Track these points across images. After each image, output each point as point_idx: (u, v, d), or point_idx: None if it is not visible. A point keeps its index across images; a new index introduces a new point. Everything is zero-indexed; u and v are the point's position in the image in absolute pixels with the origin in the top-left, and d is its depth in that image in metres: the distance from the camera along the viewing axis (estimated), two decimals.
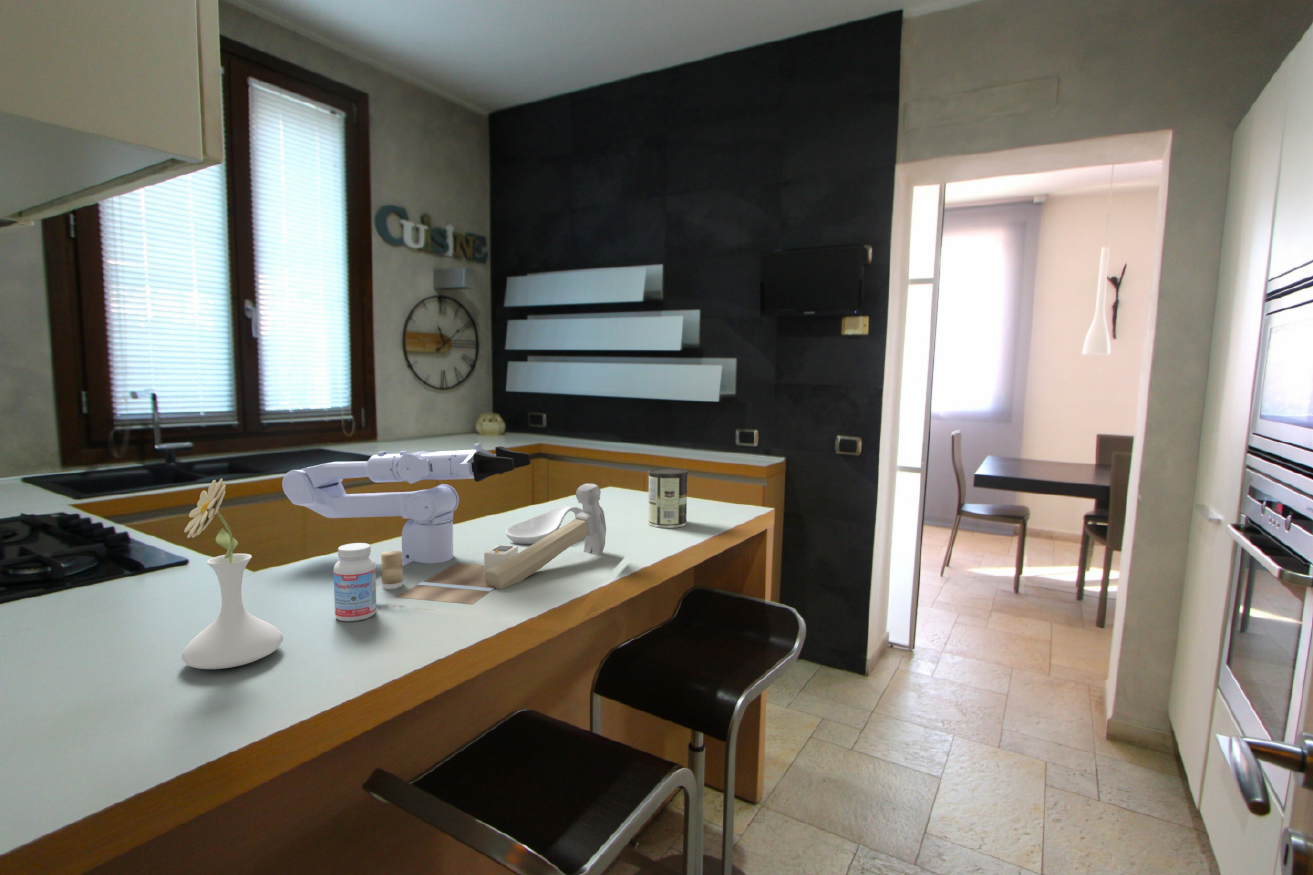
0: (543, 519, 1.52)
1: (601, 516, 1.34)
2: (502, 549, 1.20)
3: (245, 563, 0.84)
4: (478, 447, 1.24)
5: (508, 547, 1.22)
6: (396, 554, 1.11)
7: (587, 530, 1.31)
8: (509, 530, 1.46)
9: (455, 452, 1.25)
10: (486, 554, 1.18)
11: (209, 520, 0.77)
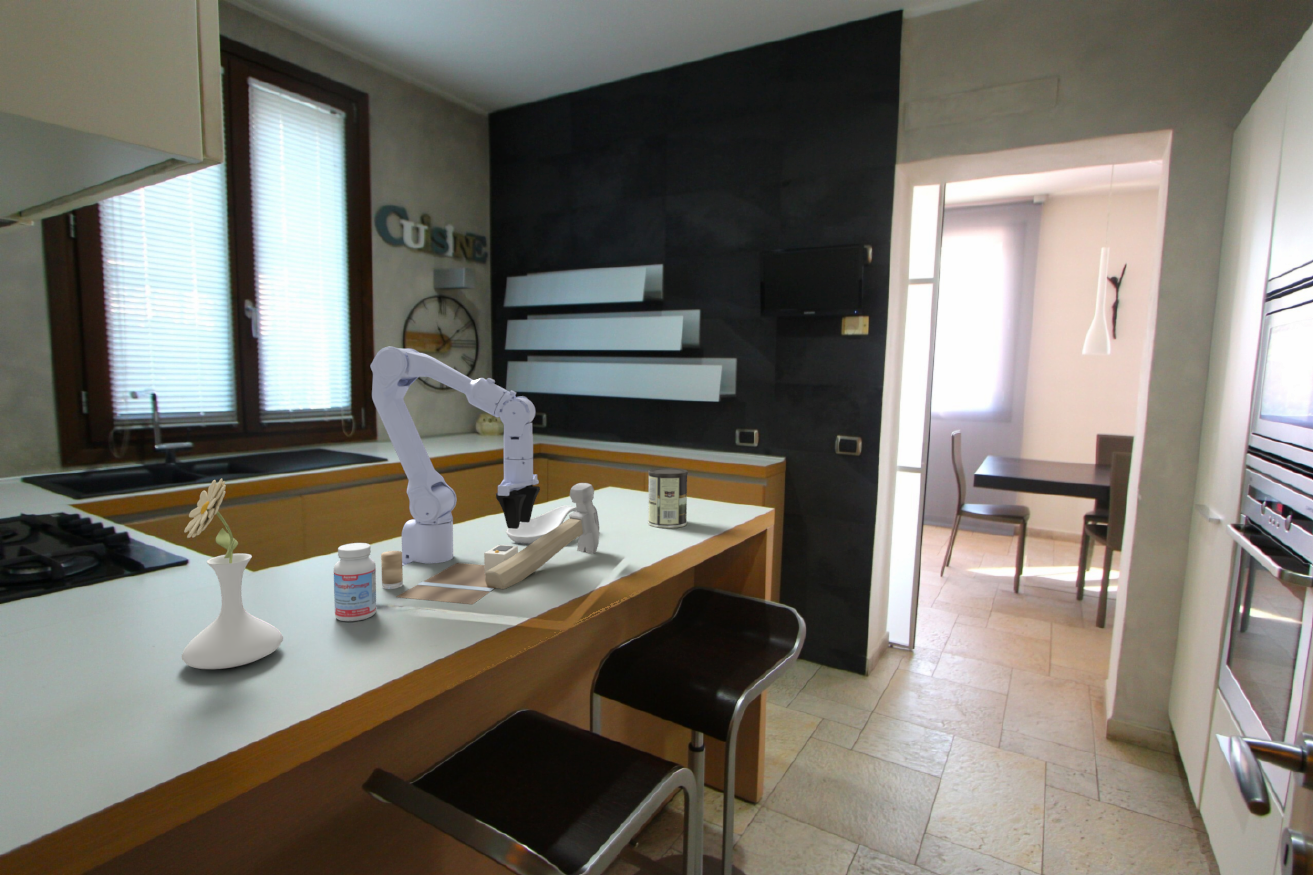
0: (545, 519, 1.52)
1: (595, 515, 1.35)
2: (502, 549, 1.20)
3: (245, 563, 0.84)
4: (532, 484, 1.26)
5: (508, 547, 1.22)
6: (396, 554, 1.11)
7: (582, 529, 1.32)
8: (510, 529, 1.46)
9: (528, 461, 1.25)
10: (486, 554, 1.18)
11: (209, 520, 0.77)
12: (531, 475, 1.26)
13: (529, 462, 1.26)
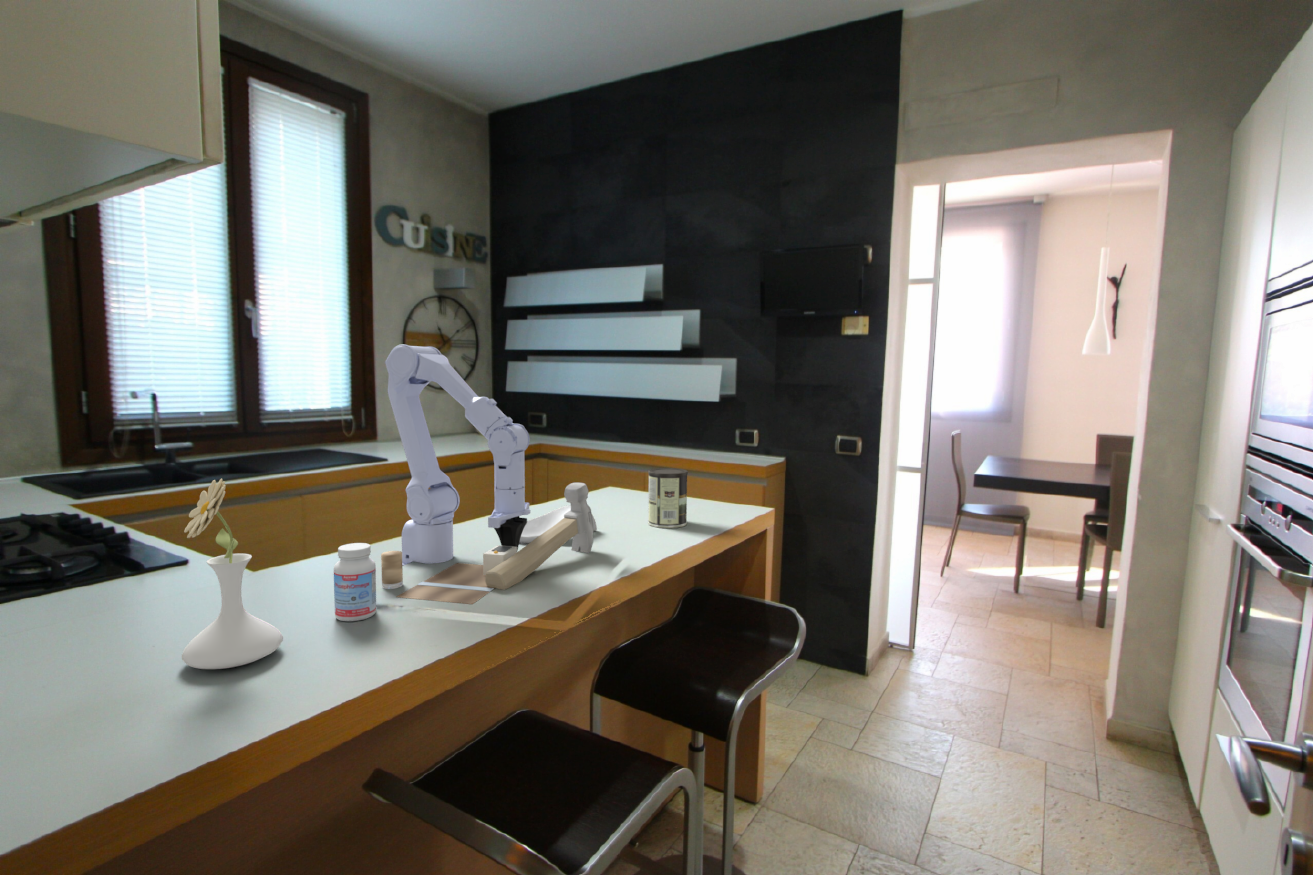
0: (548, 519, 1.52)
1: (589, 514, 1.35)
2: (501, 550, 1.20)
3: (245, 563, 0.84)
4: (523, 514, 1.22)
5: (507, 548, 1.21)
6: (396, 555, 1.11)
7: (577, 528, 1.32)
8: None
9: (519, 490, 1.22)
10: (485, 555, 1.18)
11: (209, 520, 0.77)
12: (523, 505, 1.23)
13: (521, 492, 1.22)
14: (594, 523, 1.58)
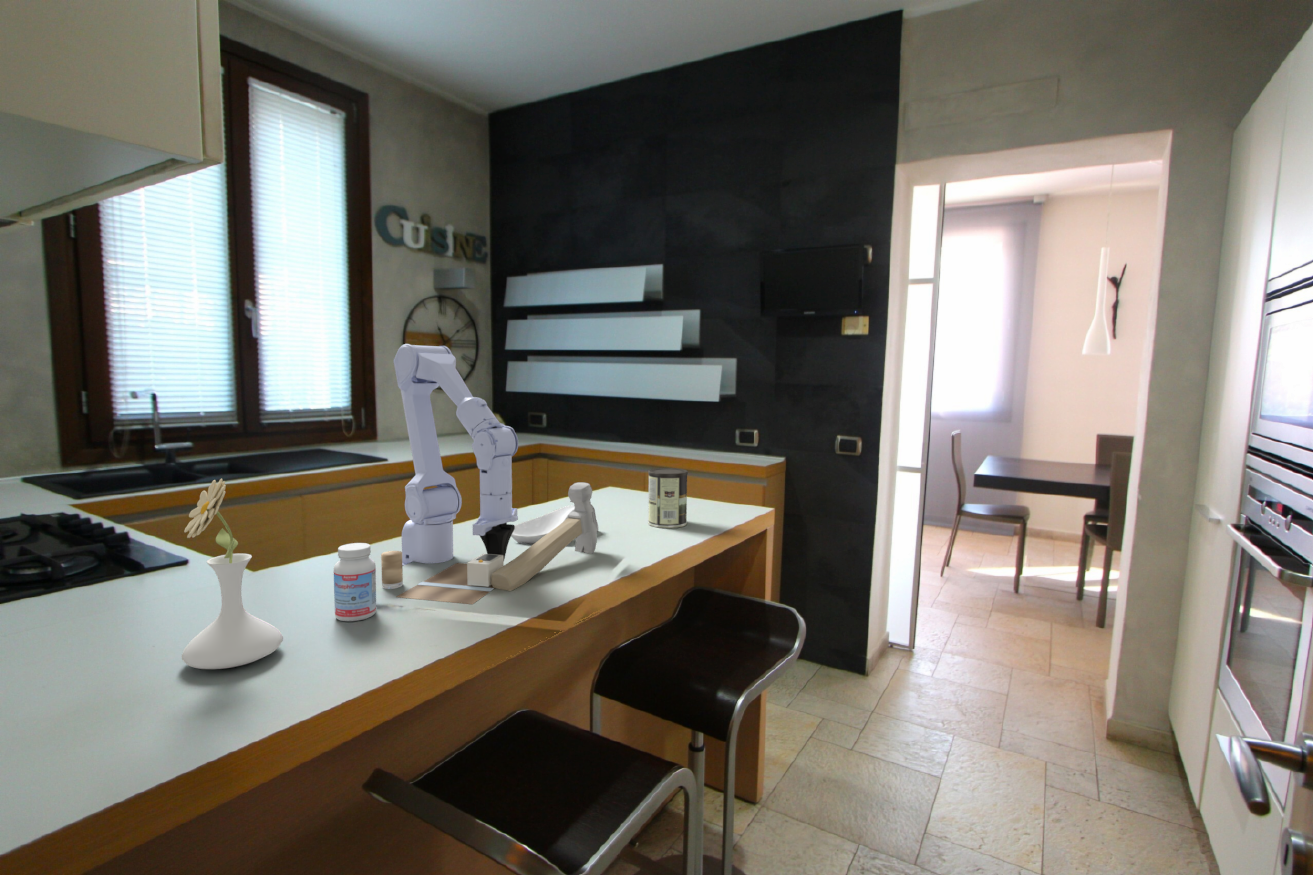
0: (549, 519, 1.52)
1: (593, 514, 1.35)
2: (486, 558, 1.14)
3: (245, 563, 0.84)
4: (510, 521, 1.17)
5: (493, 556, 1.15)
6: (396, 554, 1.11)
7: (581, 528, 1.31)
8: None
9: (506, 496, 1.16)
10: (469, 564, 1.12)
11: (209, 520, 0.77)
12: (510, 511, 1.17)
13: (507, 497, 1.16)
14: None
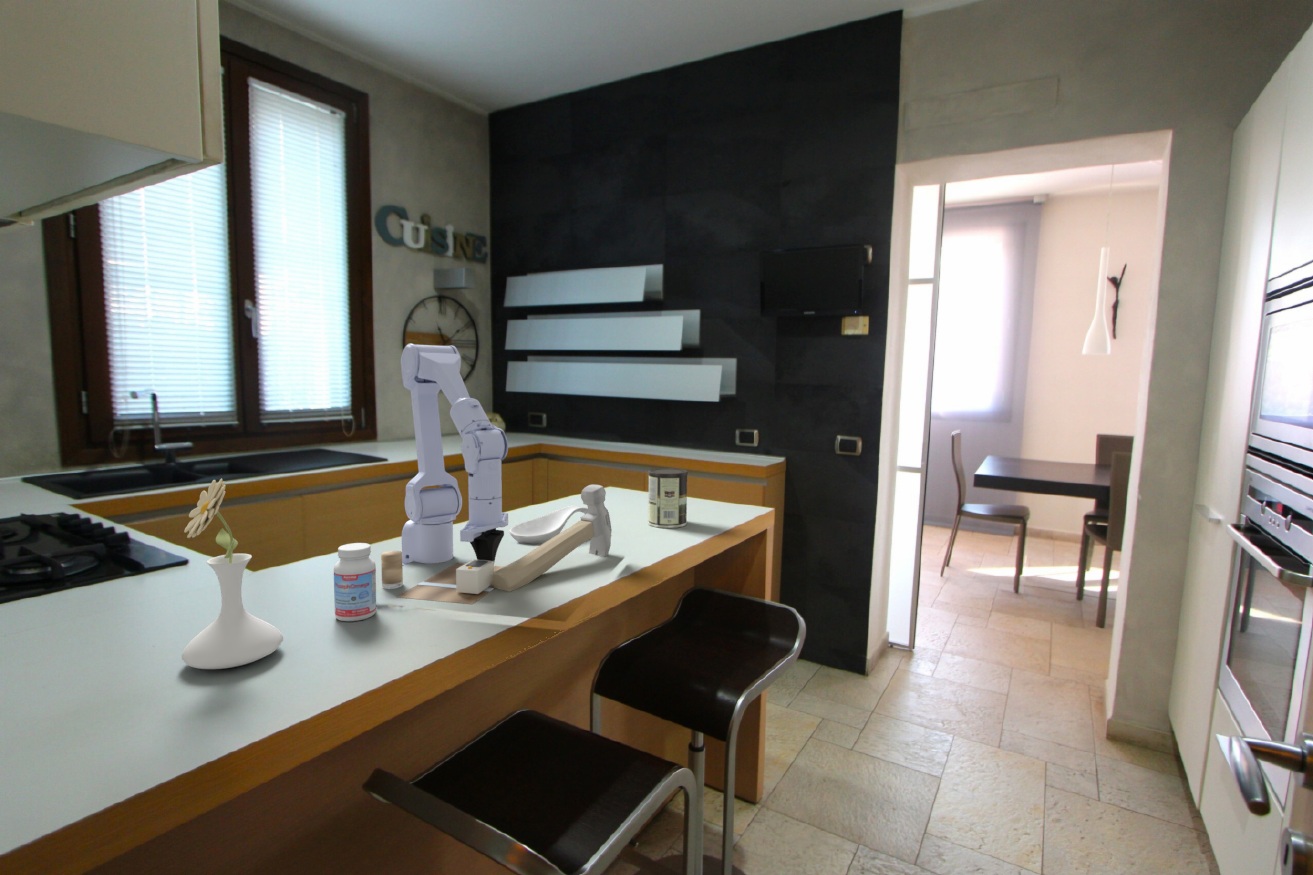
0: (550, 519, 1.52)
1: (606, 517, 1.33)
2: (476, 565, 1.10)
3: (245, 563, 0.84)
4: None
5: (483, 562, 1.12)
6: (396, 554, 1.11)
7: (593, 531, 1.30)
8: (514, 528, 1.47)
9: (495, 500, 1.12)
10: (458, 570, 1.08)
11: (209, 520, 0.77)
12: (499, 516, 1.13)
13: (497, 502, 1.12)
14: None
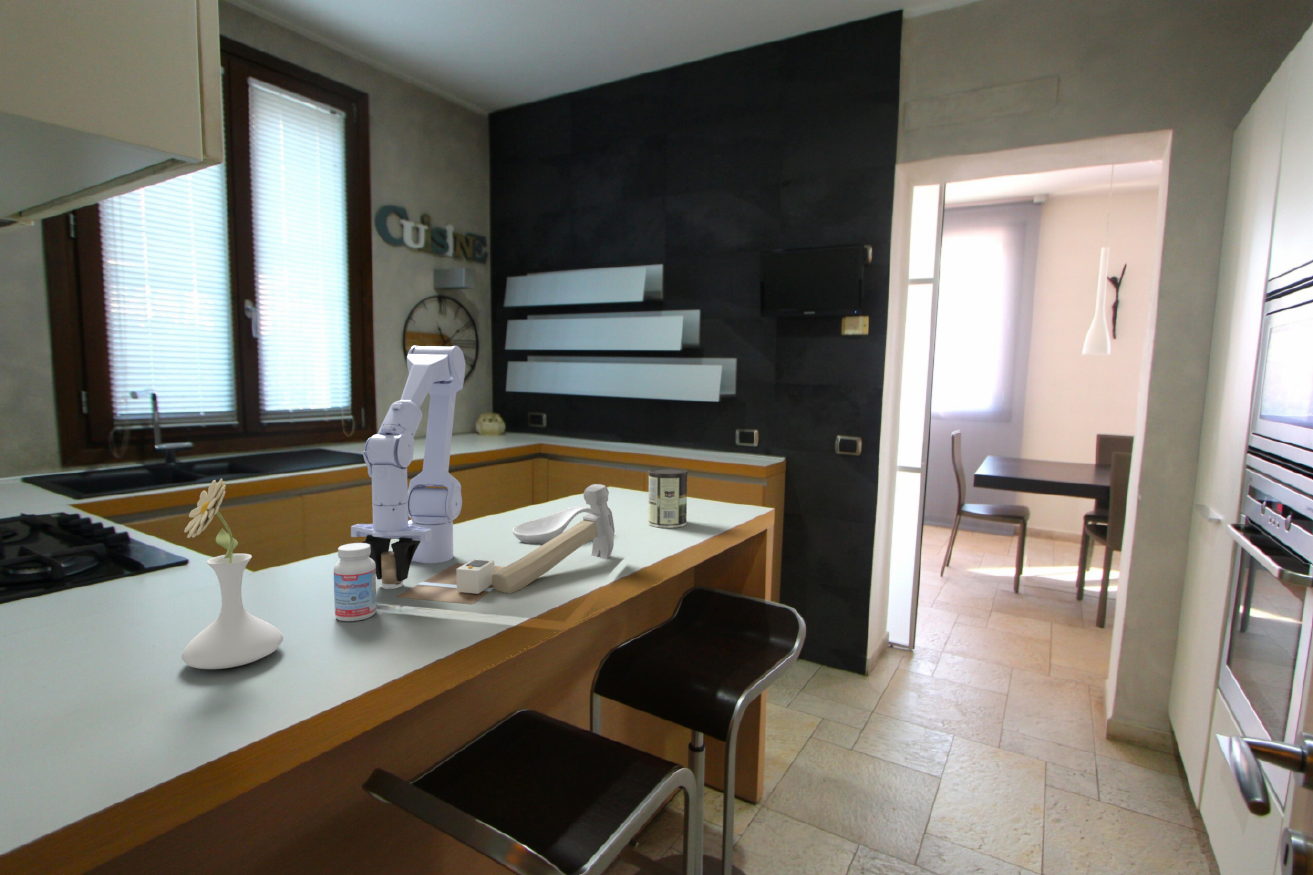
0: (555, 519, 1.52)
1: (609, 517, 1.31)
2: (476, 564, 1.10)
3: (245, 563, 0.84)
4: None
5: (483, 562, 1.12)
6: None
7: (596, 531, 1.28)
8: (518, 527, 1.49)
9: (375, 507, 1.09)
10: (458, 570, 1.08)
11: (209, 520, 0.77)
12: (379, 525, 1.09)
13: (376, 509, 1.09)
14: None
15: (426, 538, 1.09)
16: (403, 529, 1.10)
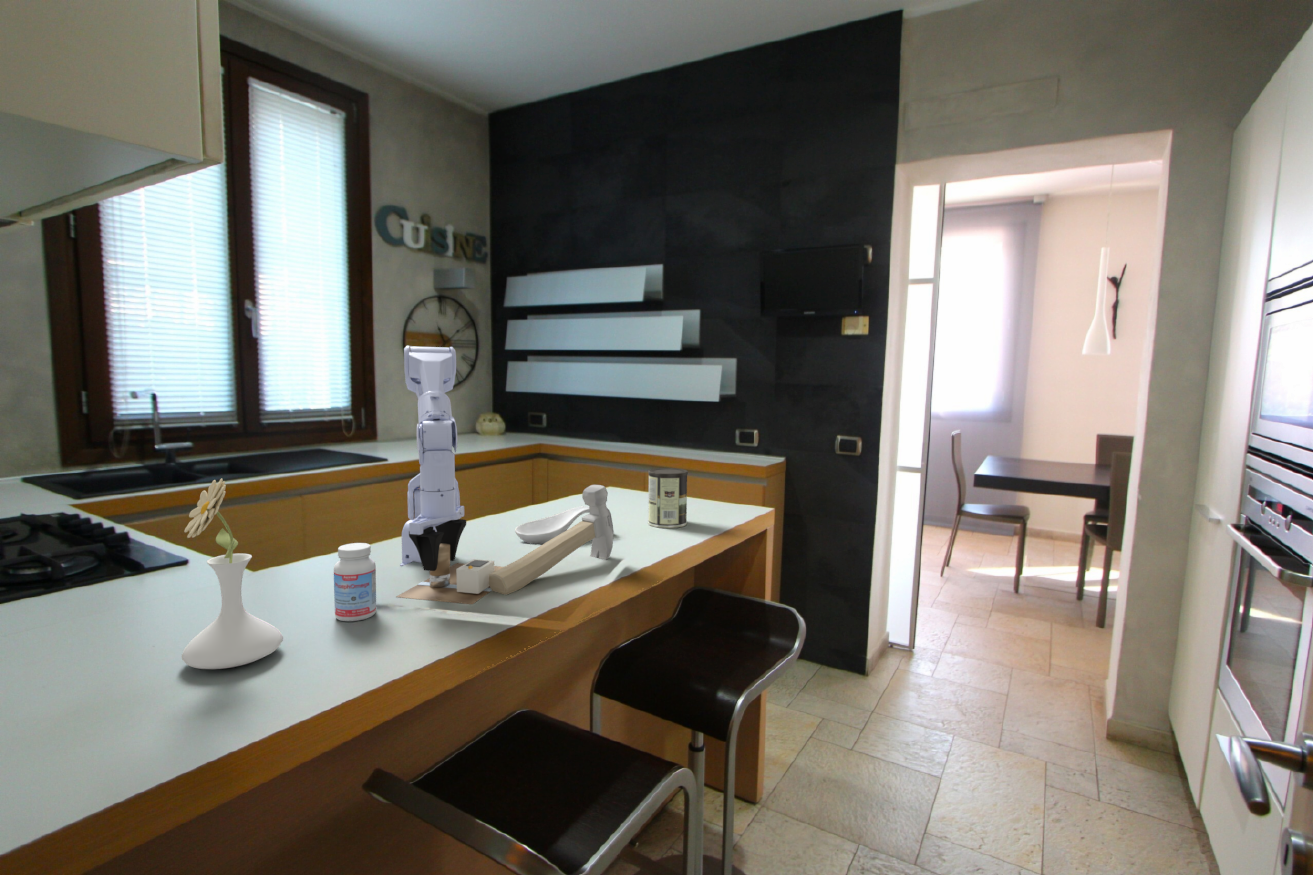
0: (559, 519, 1.52)
1: (608, 518, 1.30)
2: (476, 564, 1.10)
3: (245, 563, 0.84)
4: (453, 519, 1.10)
5: (483, 562, 1.12)
6: (447, 544, 1.14)
7: (594, 532, 1.28)
8: (522, 526, 1.49)
9: (447, 492, 1.09)
10: (458, 570, 1.08)
11: (209, 520, 0.77)
12: (452, 509, 1.11)
13: (449, 494, 1.10)
14: None
15: None
16: None
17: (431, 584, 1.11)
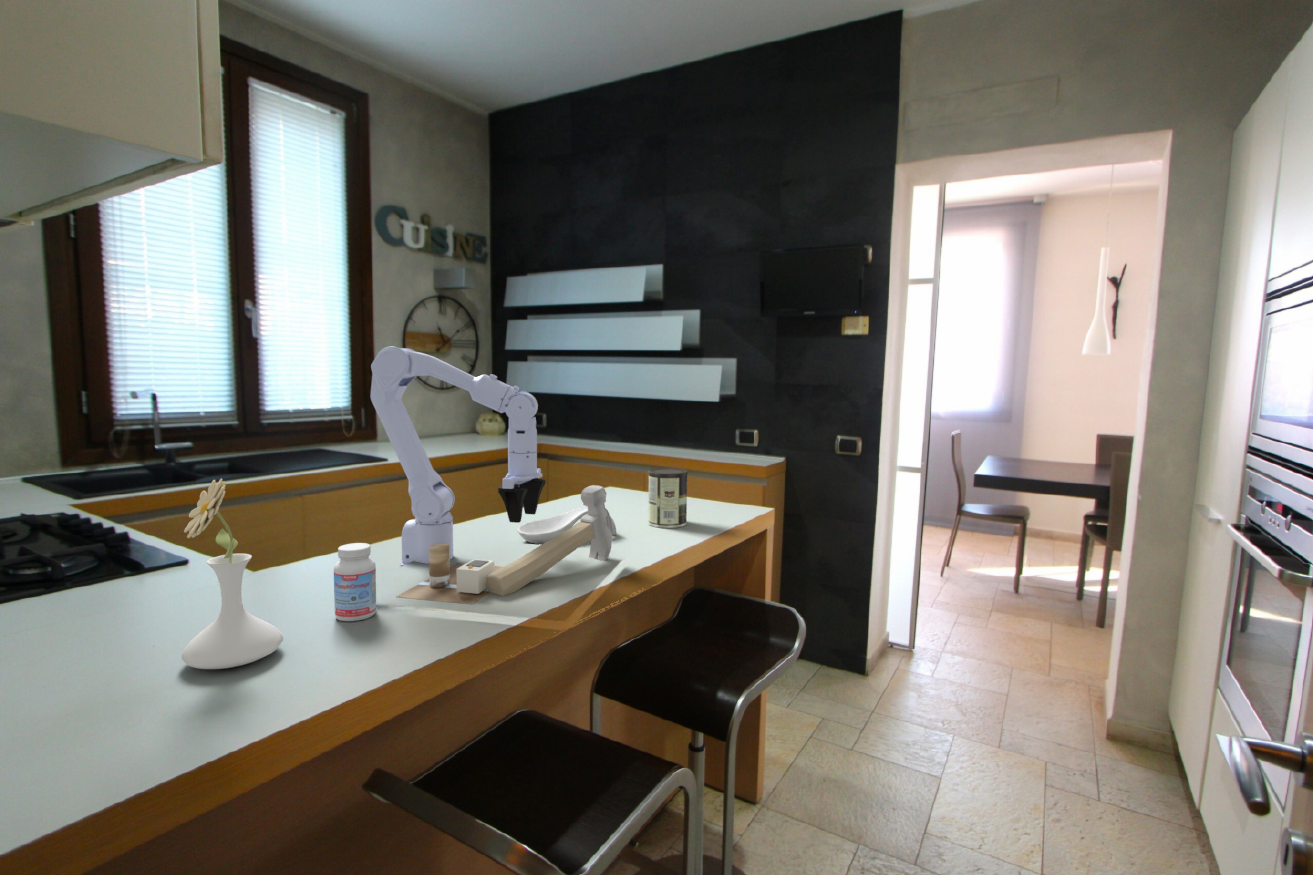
0: (564, 519, 1.52)
1: (607, 519, 1.30)
2: (476, 564, 1.10)
3: (245, 563, 0.84)
4: (536, 477, 1.28)
5: (483, 562, 1.12)
6: (446, 544, 1.13)
7: (593, 533, 1.27)
8: (525, 525, 1.50)
9: (532, 454, 1.27)
10: (458, 570, 1.08)
11: (209, 520, 0.77)
12: (535, 469, 1.28)
13: (533, 456, 1.27)
14: (613, 527, 1.54)
15: None
16: None
17: (431, 585, 1.11)
